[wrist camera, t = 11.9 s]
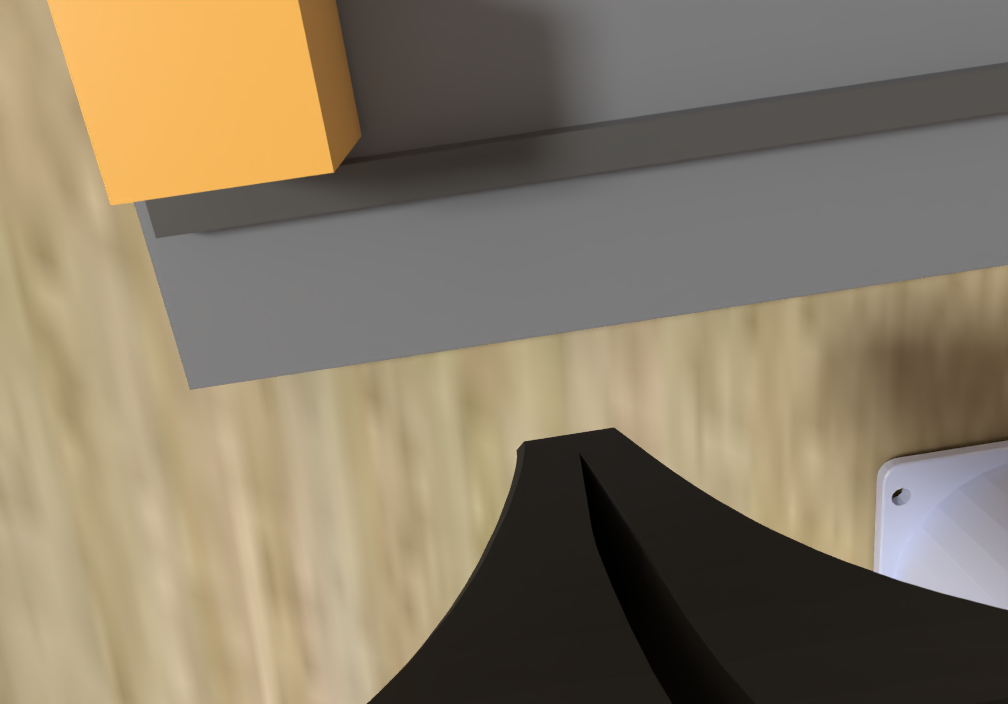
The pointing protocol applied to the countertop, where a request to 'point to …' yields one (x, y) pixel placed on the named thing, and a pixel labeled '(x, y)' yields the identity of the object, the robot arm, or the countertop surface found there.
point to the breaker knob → (208, 91)
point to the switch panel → (600, 176)
